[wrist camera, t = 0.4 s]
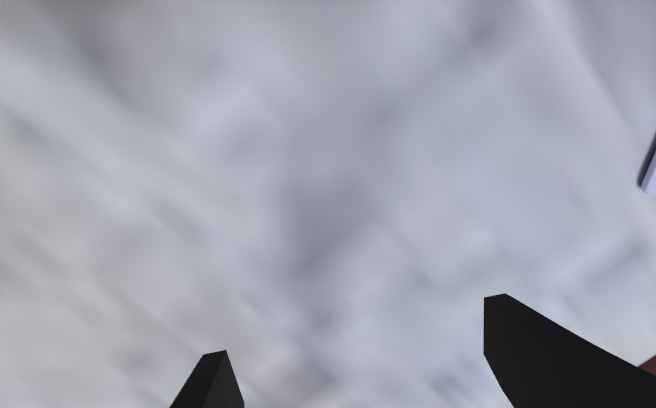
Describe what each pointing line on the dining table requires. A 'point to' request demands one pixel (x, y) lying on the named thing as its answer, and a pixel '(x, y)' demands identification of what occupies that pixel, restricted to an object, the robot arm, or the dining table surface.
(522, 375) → the robot arm
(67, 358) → the dining table surface
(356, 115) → the dining table surface
